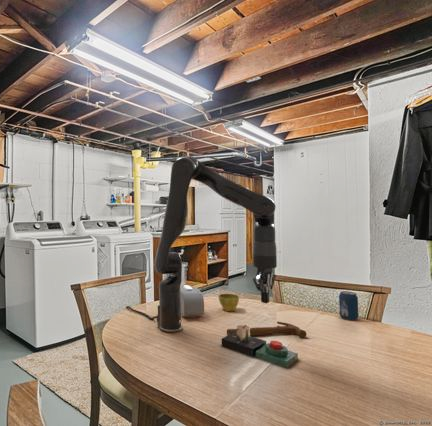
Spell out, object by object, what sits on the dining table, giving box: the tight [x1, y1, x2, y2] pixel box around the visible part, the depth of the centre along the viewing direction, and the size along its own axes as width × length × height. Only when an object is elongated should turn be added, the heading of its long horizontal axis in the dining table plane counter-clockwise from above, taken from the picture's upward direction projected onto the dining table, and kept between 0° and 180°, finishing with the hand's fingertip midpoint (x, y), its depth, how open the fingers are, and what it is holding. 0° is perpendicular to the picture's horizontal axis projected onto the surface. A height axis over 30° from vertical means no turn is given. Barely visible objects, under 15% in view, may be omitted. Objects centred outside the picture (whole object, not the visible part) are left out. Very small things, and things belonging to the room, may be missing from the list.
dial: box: [236, 324, 251, 342], centre depth 112 cm, size 4×4×5 cm
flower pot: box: [217, 293, 240, 312], centre depth 157 cm, size 10×10×7 cm
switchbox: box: [255, 342, 299, 369], centre depth 103 cm, size 10×9×4 cm
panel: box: [221, 332, 267, 358], centre depth 112 cm, size 12×10×3 cm
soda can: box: [338, 290, 359, 322], centre depth 141 cm, size 7×7×12 cm
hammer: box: [226, 321, 307, 339], centre depth 125 cm, size 12×3×30 cm
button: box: [269, 340, 283, 350], centre depth 103 cm, size 4×4×2 cm
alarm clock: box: [180, 284, 205, 318], centre depth 153 cm, size 21×10×13 cm, turn 179°
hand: (265, 302), depth 107 cm, fingers closed
